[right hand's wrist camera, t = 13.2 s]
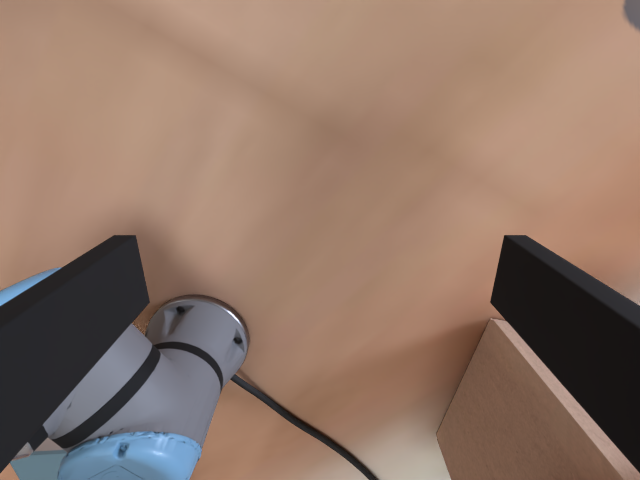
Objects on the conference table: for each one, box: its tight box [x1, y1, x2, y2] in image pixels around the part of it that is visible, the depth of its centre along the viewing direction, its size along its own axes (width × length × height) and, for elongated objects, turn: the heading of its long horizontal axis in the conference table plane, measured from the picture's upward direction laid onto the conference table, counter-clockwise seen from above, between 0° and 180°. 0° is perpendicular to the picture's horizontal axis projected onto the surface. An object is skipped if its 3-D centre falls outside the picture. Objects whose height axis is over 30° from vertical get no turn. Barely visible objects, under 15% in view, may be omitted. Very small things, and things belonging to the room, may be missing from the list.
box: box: [436, 318, 640, 480], centre depth 44 cm, size 44×36×27 cm
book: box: [10, 438, 67, 480], centre depth 61 cm, size 23×16×5 cm
